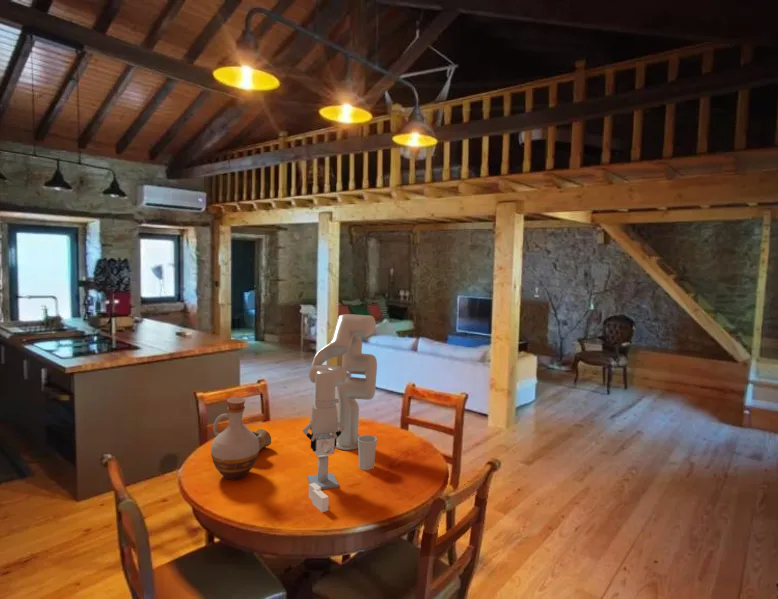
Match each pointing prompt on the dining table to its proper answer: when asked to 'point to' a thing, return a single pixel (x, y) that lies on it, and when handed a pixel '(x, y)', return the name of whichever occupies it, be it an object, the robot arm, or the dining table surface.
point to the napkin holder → (318, 497)
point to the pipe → (263, 438)
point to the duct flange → (323, 475)
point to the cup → (366, 451)
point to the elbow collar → (324, 444)
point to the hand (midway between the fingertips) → (323, 448)
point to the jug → (234, 443)
